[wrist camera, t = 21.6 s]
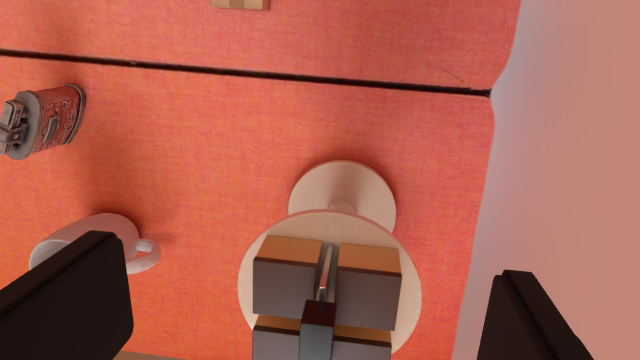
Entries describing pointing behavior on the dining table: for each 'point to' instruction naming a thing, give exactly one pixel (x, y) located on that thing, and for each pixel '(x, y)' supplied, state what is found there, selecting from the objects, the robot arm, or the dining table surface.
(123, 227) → the mug
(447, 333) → the dining table surface
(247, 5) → the knife block
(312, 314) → the knife
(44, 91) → the lighter
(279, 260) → the cake
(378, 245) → the cake stand
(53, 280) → the robot arm
